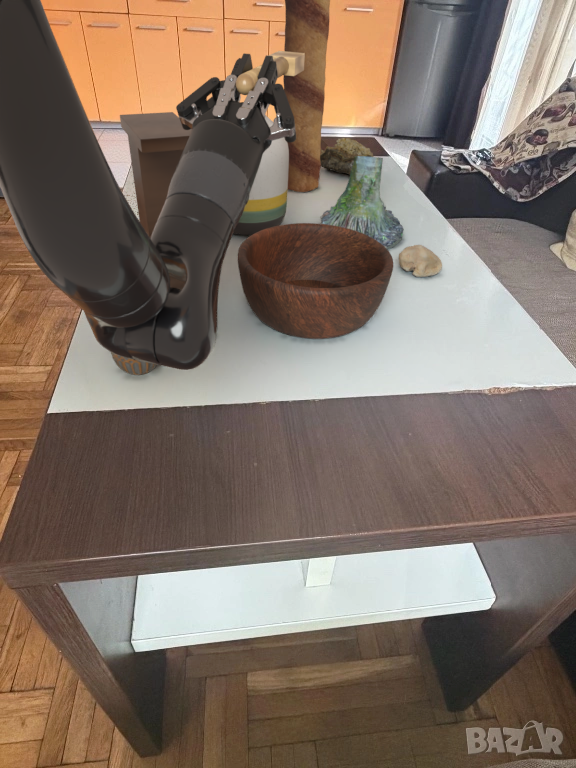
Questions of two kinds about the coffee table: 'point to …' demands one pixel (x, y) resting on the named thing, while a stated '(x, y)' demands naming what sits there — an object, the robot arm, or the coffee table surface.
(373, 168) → the tree stump
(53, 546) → the coffee table surface
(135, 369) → the vase
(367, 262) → the wooden bowl
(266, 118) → the vase
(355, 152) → the mineral specimen
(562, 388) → the coffee table surface
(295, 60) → the wooden mallet
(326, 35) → the wafer roll
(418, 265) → the stone
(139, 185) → the stand
